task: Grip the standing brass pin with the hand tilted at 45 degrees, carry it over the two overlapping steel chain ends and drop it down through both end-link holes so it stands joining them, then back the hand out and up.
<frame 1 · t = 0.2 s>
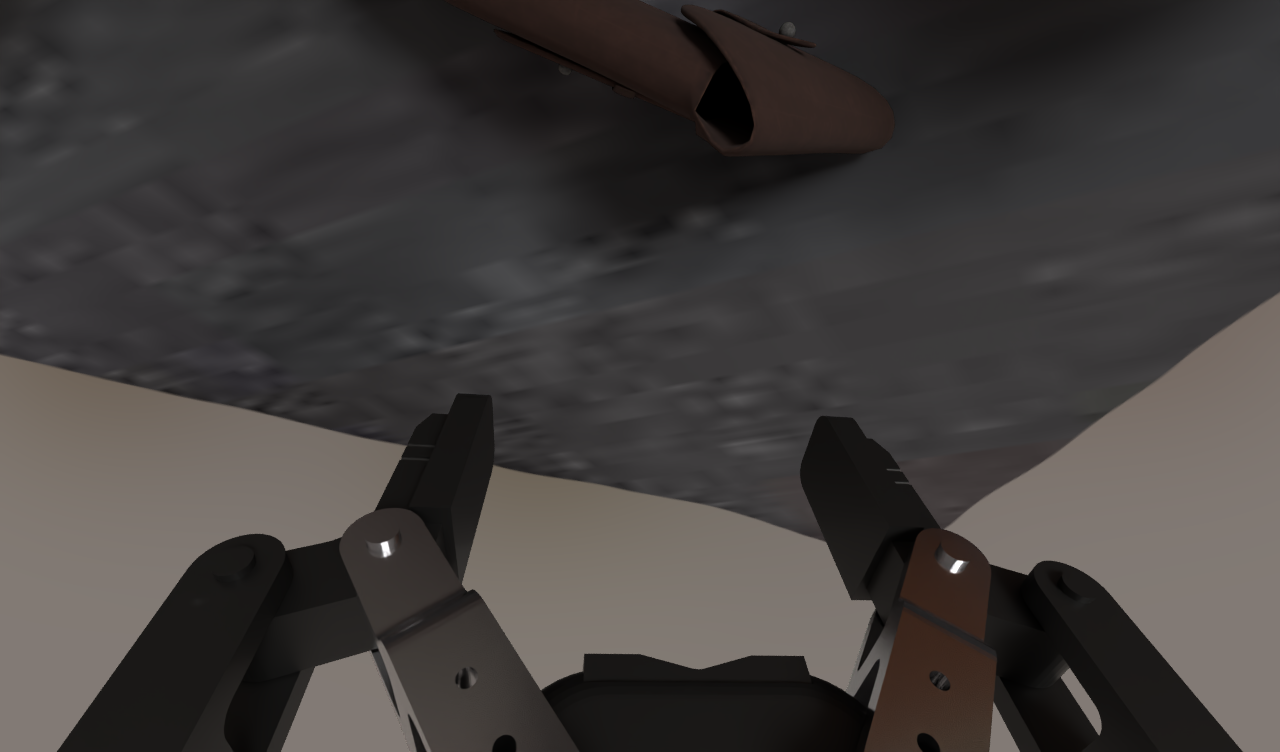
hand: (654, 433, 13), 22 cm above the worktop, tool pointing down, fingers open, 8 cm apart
holster: (638, 18, 27), on the worktop
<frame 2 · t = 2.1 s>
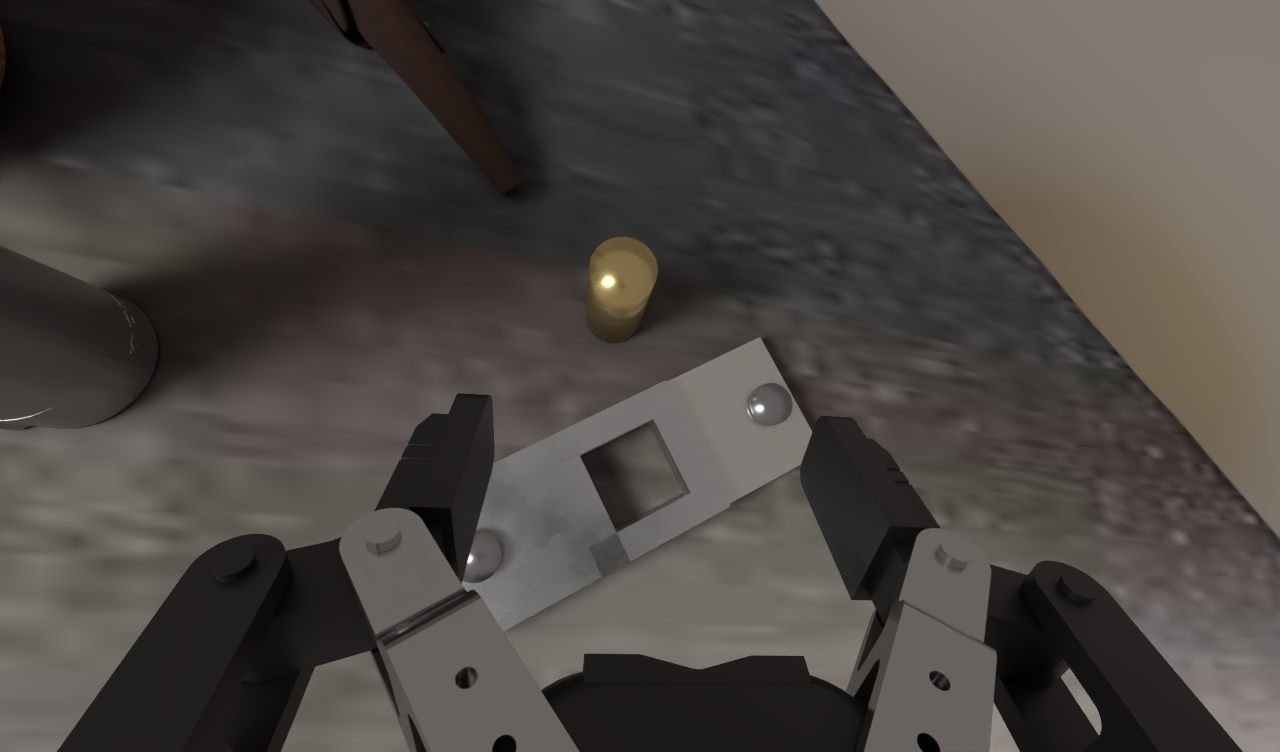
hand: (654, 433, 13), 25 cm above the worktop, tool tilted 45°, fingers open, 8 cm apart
holster: (399, 75, 42), on the worktop
chain ends: (631, 475, 37), on the worktop
pin: (613, 317, 39), on the worktop
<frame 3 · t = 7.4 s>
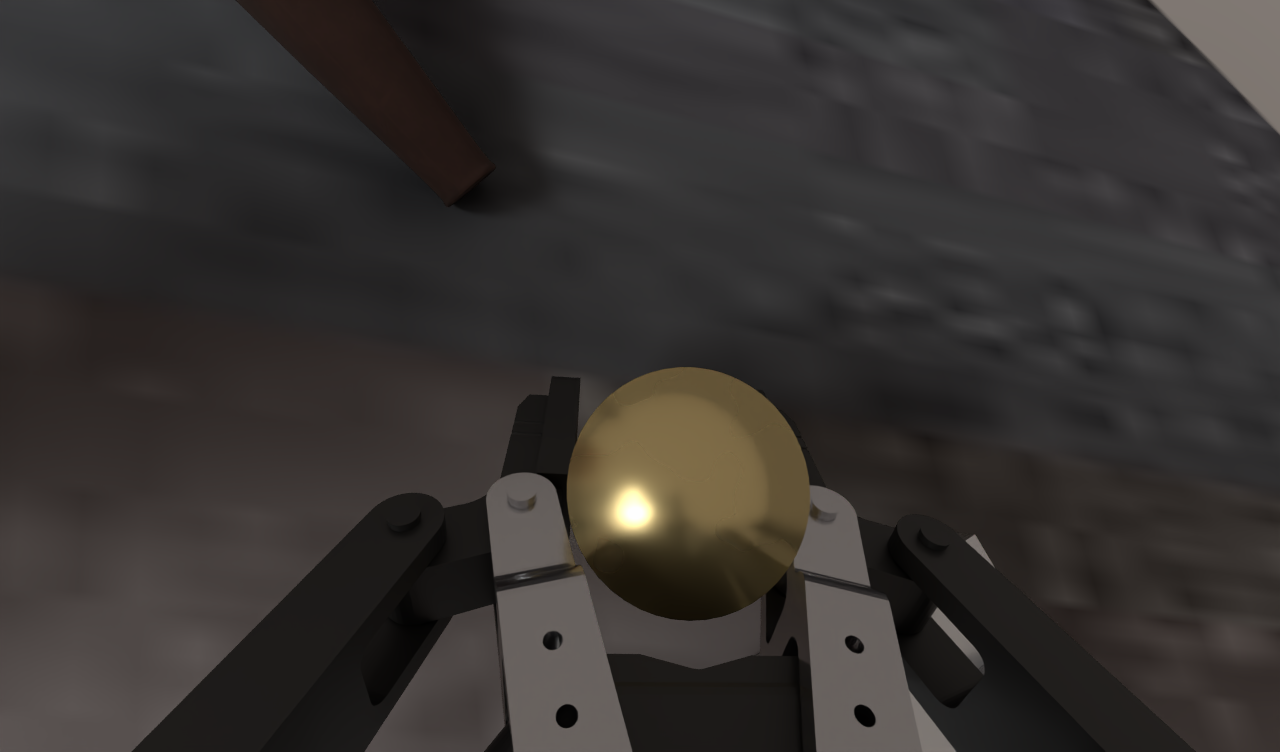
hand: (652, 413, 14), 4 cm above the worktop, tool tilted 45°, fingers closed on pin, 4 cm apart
pin: (633, 490, 17), on the worktop, touching gripper
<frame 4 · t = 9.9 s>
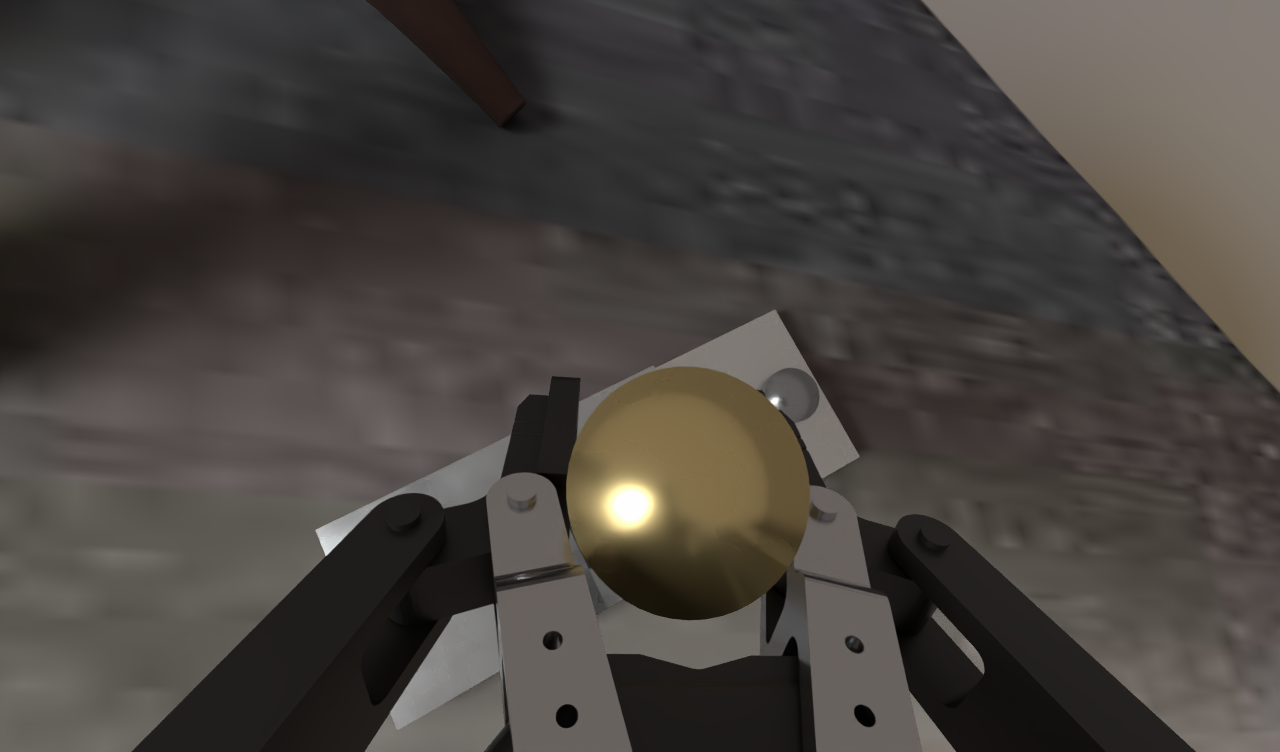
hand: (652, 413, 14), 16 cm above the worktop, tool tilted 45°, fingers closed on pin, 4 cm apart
chain ends: (611, 490, 28), on the worktop
pin: (634, 489, 17), point 12 cm above the worktop, touching gripper
when the fingers open (6 cm above the worktop, at t = 12.7 s): pin drops 2 cm, resting in chain ends.
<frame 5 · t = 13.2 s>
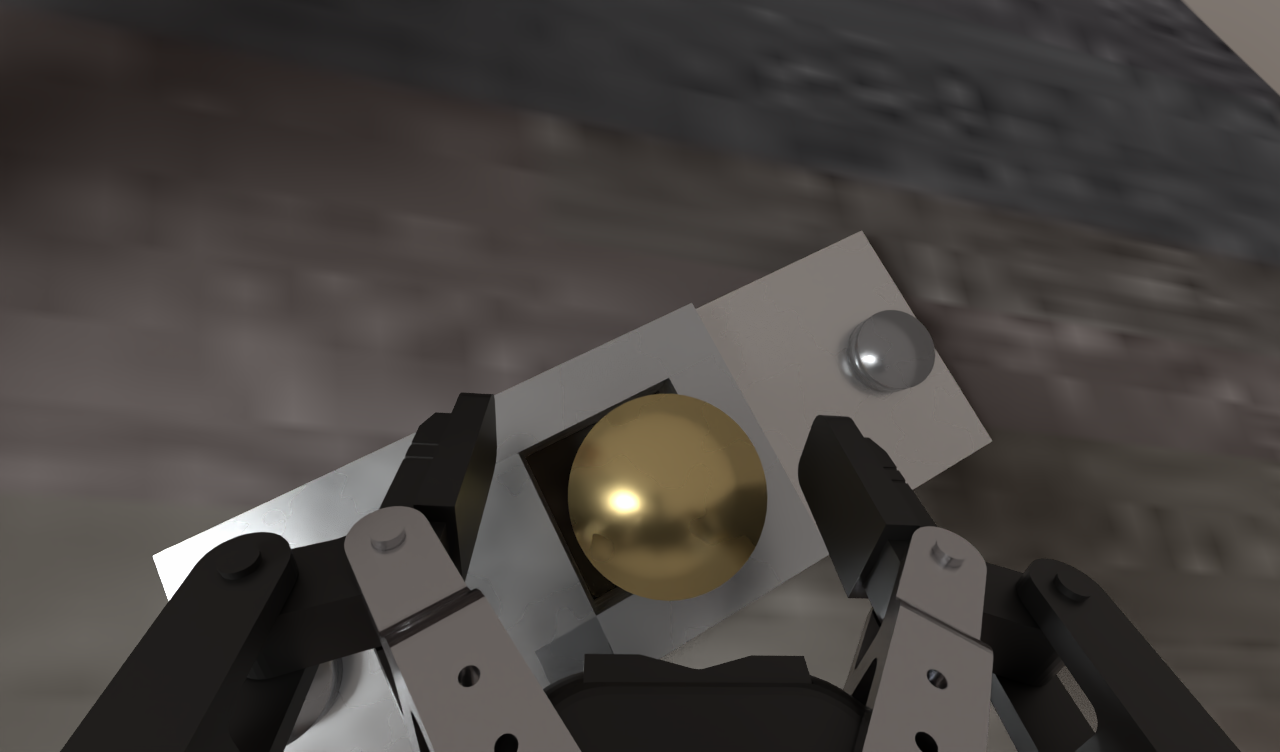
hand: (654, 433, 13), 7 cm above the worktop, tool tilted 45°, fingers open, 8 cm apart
chain ends: (627, 490, 19), on the worktop
pin: (628, 492, 19), resting in chain ends
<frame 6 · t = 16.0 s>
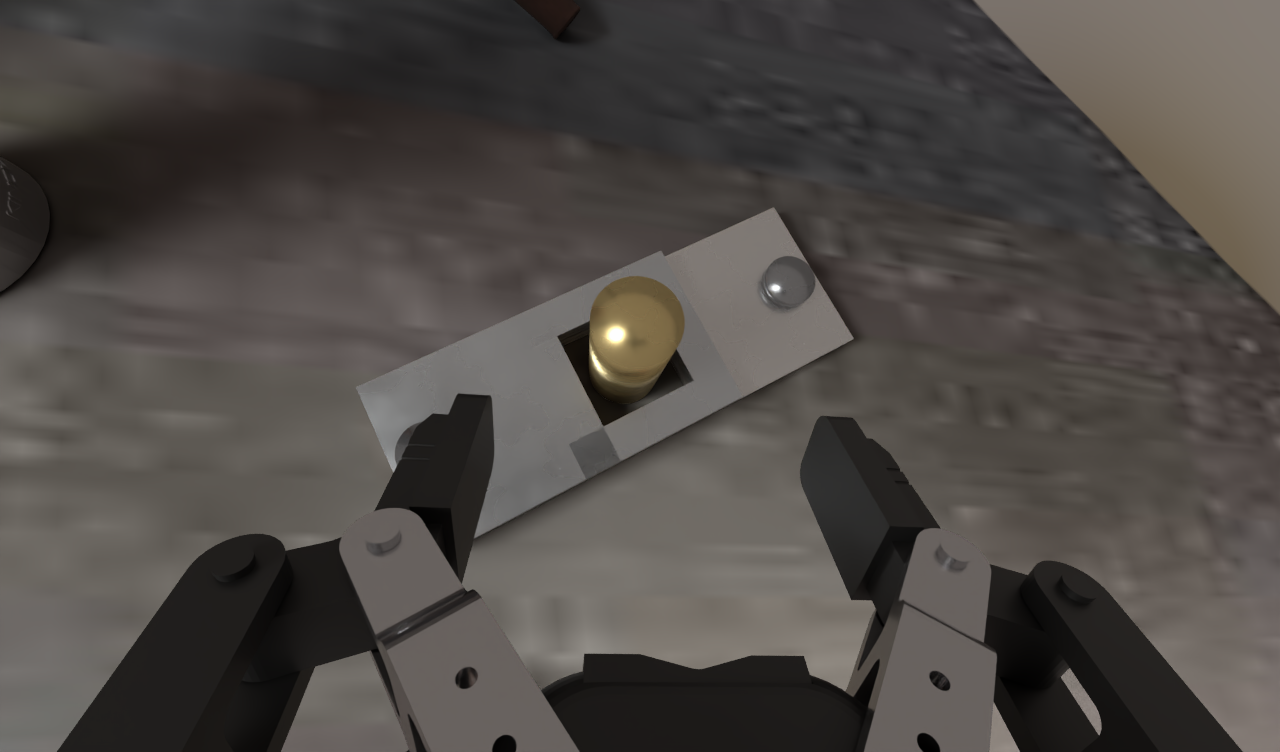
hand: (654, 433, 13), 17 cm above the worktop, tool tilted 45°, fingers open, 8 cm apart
chain ends: (622, 368, 31), on the worktop
pin: (623, 370, 31), resting in chain ends
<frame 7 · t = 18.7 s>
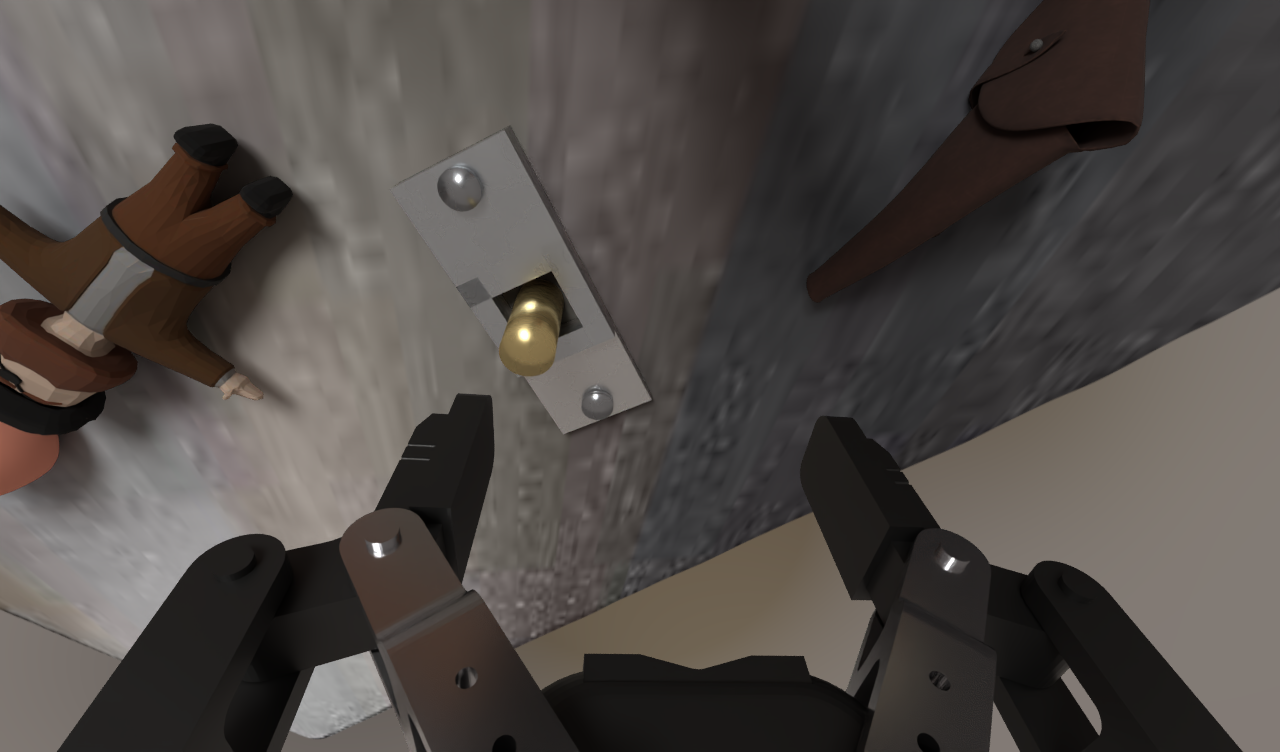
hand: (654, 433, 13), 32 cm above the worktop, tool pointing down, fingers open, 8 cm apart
holster: (937, 137, 41), on the worktop
toy: (163, 269, 43), on the worktop
chain ends: (541, 300, 46), on the worktop
pin: (540, 301, 46), resting in chain ends
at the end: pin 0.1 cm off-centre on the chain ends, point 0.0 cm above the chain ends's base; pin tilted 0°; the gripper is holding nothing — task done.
